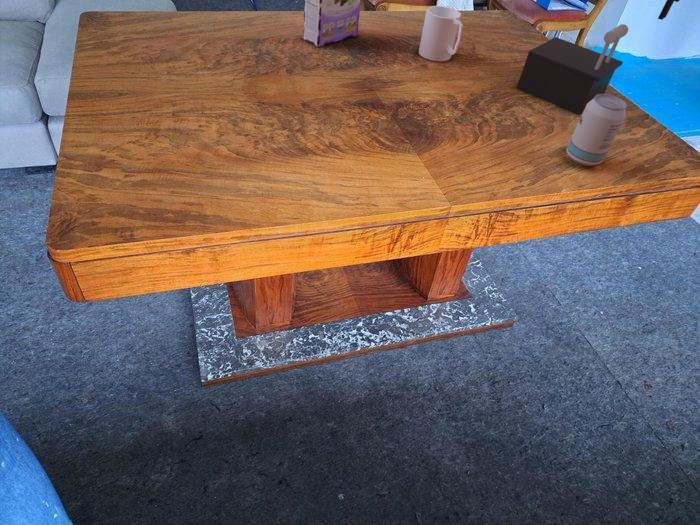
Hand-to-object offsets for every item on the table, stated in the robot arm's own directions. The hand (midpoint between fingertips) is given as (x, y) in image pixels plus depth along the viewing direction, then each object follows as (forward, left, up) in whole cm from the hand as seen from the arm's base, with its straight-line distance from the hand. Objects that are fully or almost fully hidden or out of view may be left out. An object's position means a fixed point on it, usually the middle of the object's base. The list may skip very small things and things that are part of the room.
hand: (627, 7), depth 101 cm
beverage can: (-10, +24, -21) cm, 33 cm away
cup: (+35, +8, -21) cm, 42 cm away
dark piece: (+6, 0, -21) cm, 22 cm away
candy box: (+59, +22, -21) cm, 66 cm away
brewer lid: (+6, 0, -13) cm, 14 cm away
